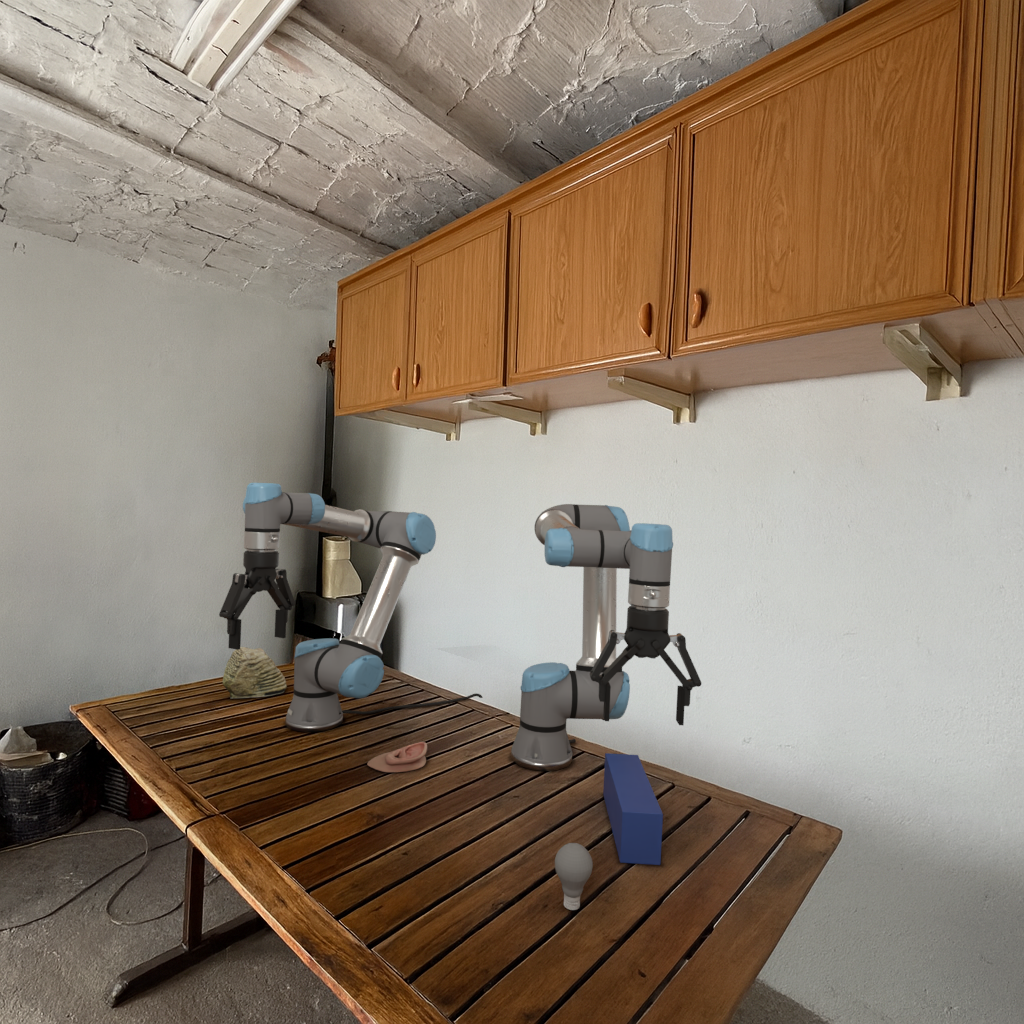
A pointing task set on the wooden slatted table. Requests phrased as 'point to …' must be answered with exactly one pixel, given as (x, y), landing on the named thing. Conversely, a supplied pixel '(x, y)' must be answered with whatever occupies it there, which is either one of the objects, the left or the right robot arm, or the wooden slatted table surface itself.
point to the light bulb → (573, 872)
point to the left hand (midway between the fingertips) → (258, 642)
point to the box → (632, 810)
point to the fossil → (252, 674)
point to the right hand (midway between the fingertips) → (642, 721)
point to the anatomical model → (401, 759)
